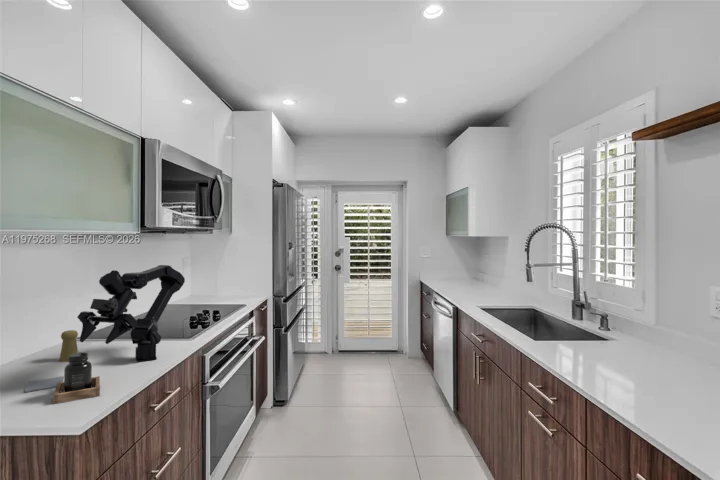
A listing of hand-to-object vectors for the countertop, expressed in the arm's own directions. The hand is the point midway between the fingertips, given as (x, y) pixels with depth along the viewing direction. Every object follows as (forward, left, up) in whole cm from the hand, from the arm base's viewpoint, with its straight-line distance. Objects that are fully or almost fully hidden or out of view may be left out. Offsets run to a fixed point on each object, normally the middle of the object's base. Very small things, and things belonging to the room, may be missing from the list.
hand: (93, 342), depth 127 cm
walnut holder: (+4, +7, -14) cm, 16 cm away
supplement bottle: (+4, +7, -14) cm, 16 cm away
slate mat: (+13, -6, -14) cm, 20 cm away
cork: (+8, -33, -14) cm, 37 cm away
